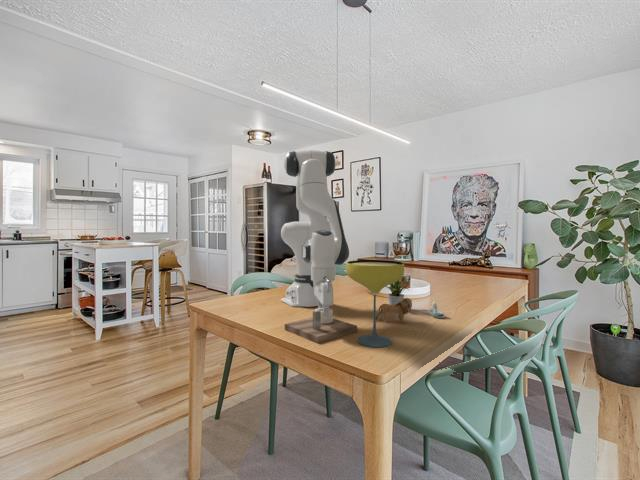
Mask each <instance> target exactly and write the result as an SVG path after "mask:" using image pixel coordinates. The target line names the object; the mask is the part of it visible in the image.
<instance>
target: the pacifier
mask: <svg viewBox="0 0 640 480" xmlns="http://www.w3.org/2000/svg"><path fill="white" fill-rule="evenodd" d="M431 303H432V304H431V305H432V308H430V309H429V310H428V312H429V314H431V316H432V317H434V318H440V319H444V318H446V317H447V316H446V314H445V313H443V312H442V311H440V310H438V304H437V302H436V301H434V300H433V302H431Z"/></svg>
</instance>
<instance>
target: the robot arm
mask: <svg viewBox="0 0 640 480" xmlns="http://www.w3.org/2000/svg"><path fill="white" fill-rule="evenodd" d="M283 166H284V167H283V168H284V170H285V172H286V174H287V175H288V176H290V177H293V178H296V183H295V185H296V186H295V189H296V190H295V193H296V194H295V197H296V198H295V199H296V200H295V201H296V203H295V204H296V209H297V210H298V212H299V213H301V214H303V215H305V216H306V217H308V218H309V220H308V221H289V222H285V223H284V224H283V225H282V226H281V230H280V237H281V240H282V241H283V242H284V244H286V245H287V246H288V247H290V249H291V250H292V252H293V253H294V256H295V260H296V261H295V262H296V264H295V265H296V274H293V278H294V281H293V282H292V283H291V284H290V285H289V286H288V287H287V288H286V290H285V297H281V298H280V301H281V302H283V303H284V304H286V305H288V306H291V307H303V308H304V307H306V308H310V307H317V309H318V308H323V316H324V317H328V314H329V308H330V307H332V306H333V305H334V286H333V282H334V281H336V265H338V266H342V265H343V264H344V263H345V262H346V261H347V260H348V259H349V258H350V249H349V248H350V247H349V245H348V242H347V238H346V235H345V232H344V226H343V221H342V218H341V213H340V210H339V209H340V208H339V206H338V204H337V201H336V200H334V199H333V198H332V196H331V195H330V192H329V189H328V178H327V177H330V176H331V175H333V174H334V172H335V170H336V166H337V162H336V158H335V154H334V153H333V152H331V151H327V150H324V151H321V150H300V151H299V150H298V151H295V150H294V151H293V150H292V151H289V152H287V153H286V155H285V158H284V162H283ZM330 309H331V308H330Z"/></svg>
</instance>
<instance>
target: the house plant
mask: <svg viewBox="0 0 640 480" xmlns="http://www.w3.org/2000/svg"><path fill="white" fill-rule="evenodd" d="M411 278H412V276H410V277H407V278H404V279H403V277H402V278H401V279H399V280H398V281H396V282H394V283H392V284H390V285H388V286H386V287H385V288H387V289H388V290H390V291H391V293H388V294H387V298H388V304H389V305H396V304H398V303H399V302H401V301H402V300H403V299H405V295H404V294H402V292H404V291H405V290H408V291H410V289H409V287H408V286H409V284H408V285H404V284H405V283H409V282H410V281H409V279H411Z"/></svg>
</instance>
